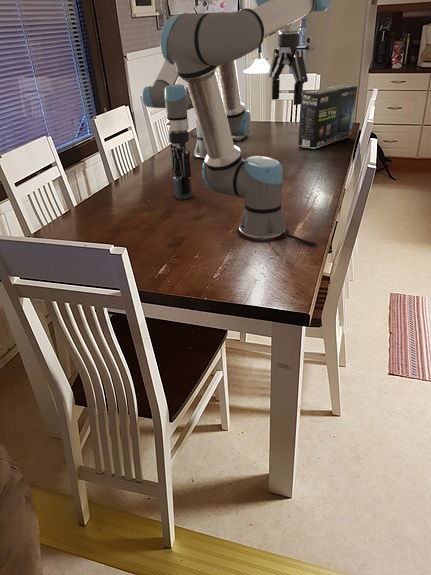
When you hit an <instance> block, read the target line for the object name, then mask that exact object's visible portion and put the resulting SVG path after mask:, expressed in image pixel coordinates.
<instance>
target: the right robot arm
mask: <svg viewBox="0 0 431 575" xmlns="http://www.w3.org/2000/svg"><path fill="white" fill-rule="evenodd" d="M331 3H332V0H254V4H255V7H254V8H250V7H245V8H242V9H240V10H237V11H231V12H227V11H224V12H225V13H218V12H198V13H197V12H196V13H188V12H182V13H181V14H174V15H171V16H170V17H169V18H168V19H166V21H165V22H164V24H163V26H162V29H161V33H160V37H159V48H160V52H161V56H162V58H163V59H164V61H165V60H166V61H168V62H169V63H170V64H173V65H175V67H176V70H177V73H178V76H179V78H178V79H181V80H183V81H185V84H186V87H188V90H189V94H190V97H191V100H192V103H193V107H194V108H193V111H194V113H195V118H196V117H197V120H198V123H199V127H200V130H201V133H202V137H203V140H204V143H205V146H206V150H207V153H208V154H207V155H206V157H205V159H204V161H203V163H202V167H201V168H202V170H201V177H202V180H203V183H204V185H205V186H206V188H208V189H209V190H211V191H213V192H216V193H220V194H224V195H227V196H228V195H229V196H232V197H237V198H242V199H243V200H244V211H243V213H242V216H241V220H240V222H239V226H238V232H239V235H240V236H241V237H242V238H244V239H247V240H250V241H254V242H271V241H277V240H279V239H281V238H283V237H287V238H290V239H293V240H294V241H297V242H301V243H303V244H305V245H306V244H307V245H310V246H314V247H315V246H317V242H314V241H310V240H307V239H304V238H301V237H298V236H296V235H293V234H290V233H287V223H286V221H285V216H284V214H283V210H282V200H283V183H284V174H283V173H284V172H283V171H284V169H283V166H282V164H281V163H280V162H279V161H278V160H277V159H274V158H272V157H268V156H264V155H262V156H260V155H254V156H253V155H252V156H249V157H247V158H245V159H243V155H242V152H241V151H242V150H241V149H240V147H238V146H236V145H235V144H234V143H235V142H234V139H232V135H231V131H230V127H229V123H228V119H227V115H226V111H225V107H224V103H223V99H222V96H221V92H220V88H219V82H218V76H217V70H216V69H217V68H218V66H219V65H223V64H226V63H229V62H232V61H234V60H235V61H236V60H239V59H240V58H243V57H245V56H246V55H248V54H250V53H253V52H254V51H255V50H257V49H259V48H260V47H261V46H262V45H263V43H264V41H265V40H266V39H268V38H270V37H271V36H273V35H274V34H276V33H278V34H277V36H276V47H277V48H274V50H273V56H272V60H271V64H270V67H269V69H268V70H269V71H268V74H267V76H268V78H270V80H271V100H272V101H275V100H280V81H281V80H280V79H281V78H280V76H281V73H282V72H283V70H284V67H285V66H288V67H289V68H290V70H291V73H292V76H293V78H294V86H293V103H292V104H293V106H299V105H301V100H302V93H303V91H304V90H303V89H304V84H305V83H308V81H309V80H308V79H309V78H308V73H307V69H306V64H305V60H304V50H302V49H299V50H298V47H300V45H301V34H300V33H299V32H301V31H302V18H304V17H306V16H307V15H309V14H310V13H314V12H315V13H319V12H325V11H327V10H328V9H329V8H330V6H331Z"/></svg>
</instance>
